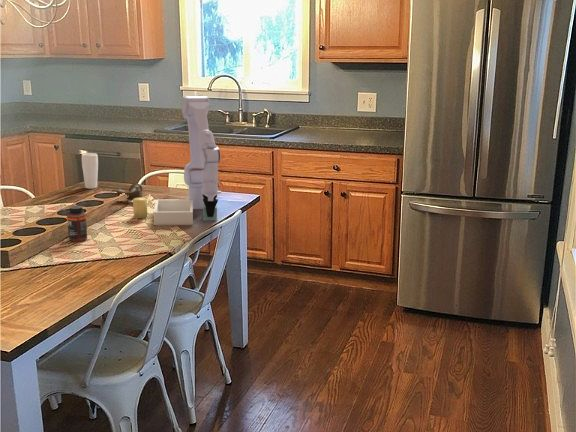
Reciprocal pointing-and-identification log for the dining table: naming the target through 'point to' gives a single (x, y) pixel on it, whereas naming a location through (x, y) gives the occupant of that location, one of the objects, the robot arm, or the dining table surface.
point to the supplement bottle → (77, 224)
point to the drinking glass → (90, 169)
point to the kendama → (132, 191)
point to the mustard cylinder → (140, 207)
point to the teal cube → (206, 214)
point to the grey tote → (173, 212)
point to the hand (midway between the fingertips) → (210, 214)
